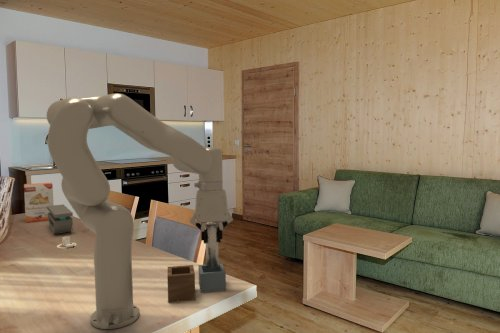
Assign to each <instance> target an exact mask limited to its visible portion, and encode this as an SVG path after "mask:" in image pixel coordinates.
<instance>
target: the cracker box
mask: <svg viewBox="0 0 500 333" xmlns="http://www.w3.org/2000/svg"><path fill="white" fill-rule="evenodd" d="M53 188H54V187H53V182H39V183H38V182H37V183H24V184H23V190H24V191H23V192H24V193H23V194H24V196H23V198H24V213H25V214H24V215H25V223H34V222H35V223H36V222H46V221H49V220H48V213H50V212H49V210H48V209H47V206H53V205H54V189H53Z"/></svg>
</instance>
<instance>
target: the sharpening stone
mask: <svg viewBox="0 0 500 333" xmlns="http://www.w3.org/2000/svg"><path fill="white" fill-rule="evenodd" d="M47 209H48V210H49V212H50V213H48V220H47V221H48V224H49V226H48V227H49V229H50V232H51V233H52V234H53V235H58V234H64V233H71V232H72V228H73V224H74V223H73V218H72V217H73V216H74V214H73V212H72V210H70V208H68V207H67V206H66V205H65V204H55V205H54V204H53V206H47Z"/></svg>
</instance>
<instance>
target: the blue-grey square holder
mask: <svg viewBox="0 0 500 333" xmlns="http://www.w3.org/2000/svg"><path fill="white" fill-rule="evenodd" d="M226 274H227V273H226V270H225V267H224V264H223V263H220V262H219V266H218V267H217V268H207V267H206V264H198V286H199V292H200V293H211V292H221V291H226V288H227V286H226V285H227V280H226V278H227V276H226Z"/></svg>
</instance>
